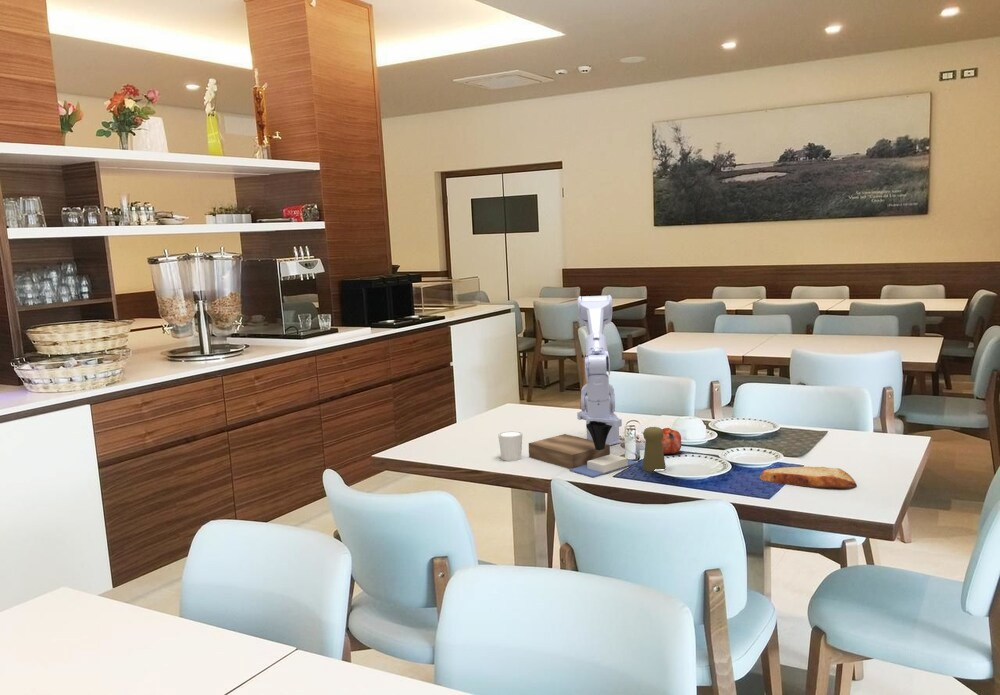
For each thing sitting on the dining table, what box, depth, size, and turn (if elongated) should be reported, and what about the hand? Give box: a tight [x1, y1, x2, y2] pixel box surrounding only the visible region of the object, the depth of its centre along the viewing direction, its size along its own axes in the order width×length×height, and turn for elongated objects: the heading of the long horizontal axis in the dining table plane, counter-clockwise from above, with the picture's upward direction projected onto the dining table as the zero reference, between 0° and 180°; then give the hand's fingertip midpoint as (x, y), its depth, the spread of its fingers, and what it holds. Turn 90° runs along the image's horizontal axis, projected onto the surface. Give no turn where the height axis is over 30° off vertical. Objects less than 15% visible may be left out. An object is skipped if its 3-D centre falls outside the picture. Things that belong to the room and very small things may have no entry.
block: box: [587, 453, 628, 473], centre depth 214 cm, size 9×6×2 cm, turn 128°
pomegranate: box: [661, 427, 682, 455], centre depth 226 cm, size 7×7×10 cm
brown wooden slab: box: [528, 433, 611, 470], centre depth 226 cm, size 14×18×4 cm
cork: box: [642, 426, 667, 473], centre depth 212 cm, size 6×6×11 cm
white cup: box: [498, 430, 523, 462], centre depth 229 cm, size 7×7×7 cm
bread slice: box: [759, 466, 858, 490], centre depth 196 cm, size 18×18×4 cm
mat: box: [569, 459, 639, 479], centre depth 216 cm, size 17×9×1 cm, turn 128°
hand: (600, 449), depth 216 cm, fingers closed
